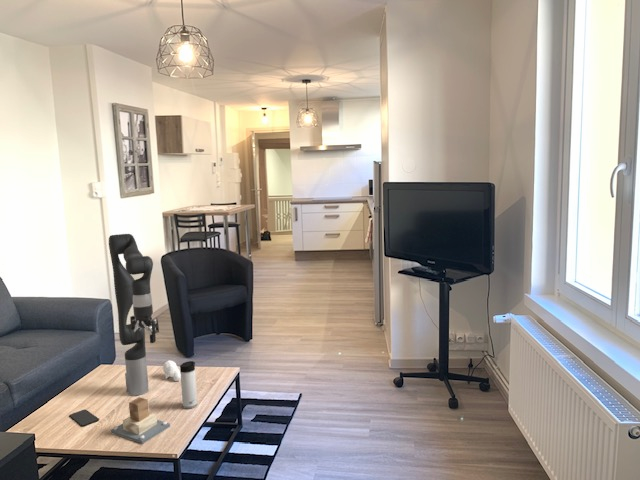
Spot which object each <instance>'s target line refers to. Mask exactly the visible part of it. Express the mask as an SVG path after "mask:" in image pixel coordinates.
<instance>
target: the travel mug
mask: <svg viewBox="0 0 640 480" xmlns="http://www.w3.org/2000/svg"><path fill="white" fill-rule="evenodd" d="M195 365H196V362H195V361H193V360H189V361H186V362H182V363H181V364H180V365H179V372H180V374H181V379H180V387H181V399H182V401H181V402H182V407H183V409H186V410H191V409H194V408H196V407H197V406H198V395H197V394H198V393H197V391H198V390H197V378H196V368H195V367H196V366H195Z"/></svg>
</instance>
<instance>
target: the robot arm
mask: <svg viewBox="0 0 640 480" xmlns="http://www.w3.org/2000/svg"><path fill="white" fill-rule="evenodd" d="M108 249H109V254H110V260H111V264H112V265H111V266H112V271H113V273H112V274H113V286H114V294H115V300H116V307H117V317H118V319H117V321H118V334H119V335H118V336H119V341H120V344H121V345H123V346H127V345H133V344H135V345H133V346H132V347H131V348H130V347H129V349H127V350H126V351H125V352H124V362H125V373H124V378H125V386H126V387H125V388H126V393H128V395H129V396H140V395H145V394H146V393H147V392H149V390H150V389H149V378H148V377H149V376H148V364H147V354H146V332H145V330H146V331H147V332H148V333H149V343H150V344H154V343H156V339H157V337H156V334H157V333H160V327H159V320H158V318H157V317H156V318H153V317H152V315H153V313H154V312H153V311H154V310H153V309H154V308H153V298H152V293H151V278H152V277H151V276H152V272H153V268H154V262H153V261H154V260H153V259H152V257H150V256H149V255H143V254H142V252H141V251H140V250H139V248H138V244H137V241H136V239H135V237H134V235H132V234H130V233H121V234H112V235H109V237H108ZM119 255H123V260H124V261H125V266H124V265H123V263H122V261H121V259H120V256H119ZM140 274H141V275H142V276H141V277H140V278H137V279H135V278H134V276H135V275H140ZM131 308H133V315H131V316H130V317H129V318H130V319H129V320H130V323H128V324H127V320H128V316H129V313H130V310H131Z"/></svg>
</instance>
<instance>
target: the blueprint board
mask: <svg viewBox="0 0 640 480" xmlns="http://www.w3.org/2000/svg"><path fill="white" fill-rule="evenodd" d="M170 427H171V423H168V422H167V421H162V420H160V419H159V420H158V419H157V425H155V426H153V427H152V428H150V429H148V430H147V431H145V432H143V433H142V434H140V435H138V434H135V433H132V432H129V431H126V430H124V429H123V422H122V423H120V424H119V425H117V426H114V427H113V428H112V429H110V433H111V434H113V435H116V436H119V437H122V438H125V439H127V440H131V441H133V442H136V443H140V444H142V445H143V444H144V443H146V442H147V441H149V440H151V439H153V438H154V437H156V436H158V435H159V434H160V433H162V432H164V431H166V429H168V428H170Z"/></svg>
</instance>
